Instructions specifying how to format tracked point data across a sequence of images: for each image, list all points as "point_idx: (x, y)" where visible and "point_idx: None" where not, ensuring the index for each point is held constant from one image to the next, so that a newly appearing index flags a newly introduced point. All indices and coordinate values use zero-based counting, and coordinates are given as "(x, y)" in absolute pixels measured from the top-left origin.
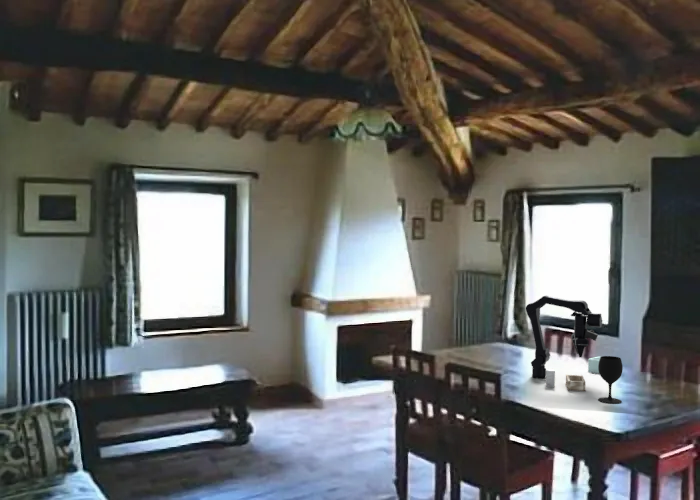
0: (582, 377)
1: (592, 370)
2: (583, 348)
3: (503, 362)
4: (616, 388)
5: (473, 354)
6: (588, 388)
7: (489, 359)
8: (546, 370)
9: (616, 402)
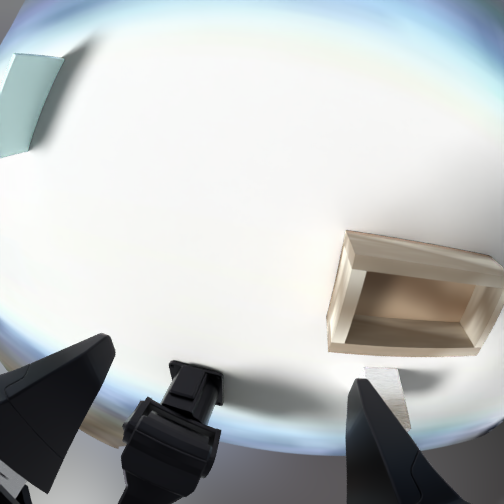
0: (419, 269)
1: (28, 133)
2: (445, 496)
3: None
4: (422, 48)
5: None
6: (444, 220)
7: None
8: None
9: None
